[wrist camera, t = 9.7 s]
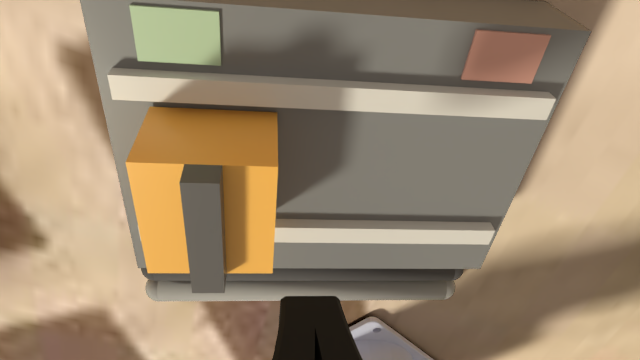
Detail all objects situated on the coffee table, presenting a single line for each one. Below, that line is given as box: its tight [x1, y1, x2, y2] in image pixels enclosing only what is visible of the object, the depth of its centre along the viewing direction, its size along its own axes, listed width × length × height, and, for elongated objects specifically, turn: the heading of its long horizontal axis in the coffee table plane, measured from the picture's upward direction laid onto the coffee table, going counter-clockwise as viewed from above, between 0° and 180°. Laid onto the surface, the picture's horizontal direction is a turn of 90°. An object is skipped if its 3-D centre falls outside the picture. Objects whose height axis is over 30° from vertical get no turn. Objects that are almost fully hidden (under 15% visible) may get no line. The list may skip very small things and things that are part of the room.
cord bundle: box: [141, 268, 464, 301], centre depth 24 cm, size 16×3×1 cm, turn 84°
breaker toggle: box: [126, 107, 278, 293], centre depth 14 cm, size 4×4×4 cm
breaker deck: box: [80, 0, 591, 269], centre depth 17 cm, size 15×11×4 cm
